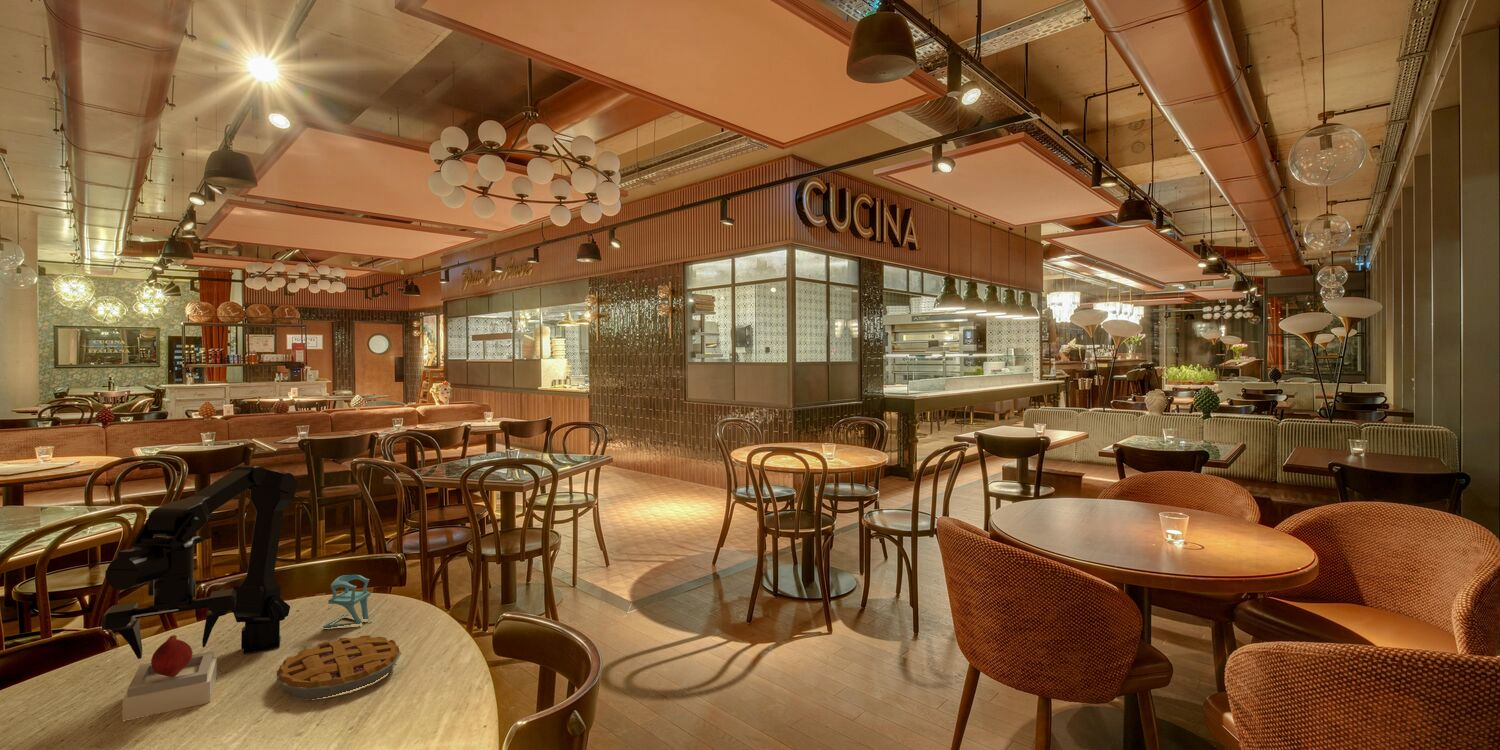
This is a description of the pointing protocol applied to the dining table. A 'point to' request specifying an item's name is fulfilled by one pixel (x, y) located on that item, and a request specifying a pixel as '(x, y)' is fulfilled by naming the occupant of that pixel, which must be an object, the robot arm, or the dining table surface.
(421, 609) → the dining table surface
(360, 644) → the pie
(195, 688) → the display pedestal
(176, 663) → the onion
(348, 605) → the chair
